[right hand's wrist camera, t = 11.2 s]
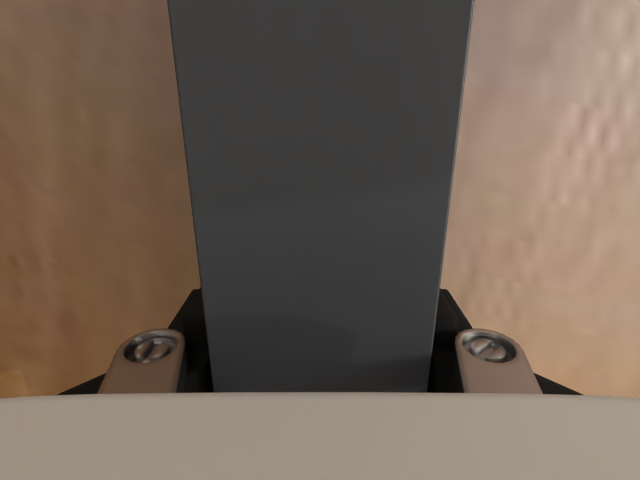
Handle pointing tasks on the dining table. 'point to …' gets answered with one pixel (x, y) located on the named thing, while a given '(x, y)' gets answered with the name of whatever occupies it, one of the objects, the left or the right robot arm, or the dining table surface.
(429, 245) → the post
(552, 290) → the dining table surface
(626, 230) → the dining table surface
